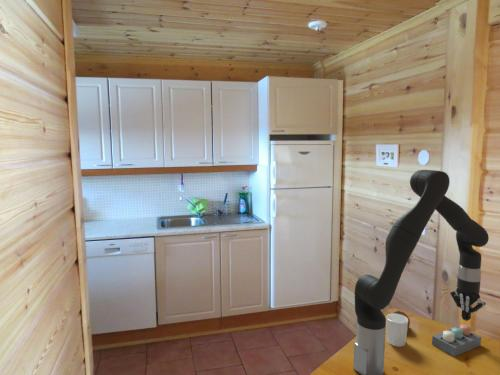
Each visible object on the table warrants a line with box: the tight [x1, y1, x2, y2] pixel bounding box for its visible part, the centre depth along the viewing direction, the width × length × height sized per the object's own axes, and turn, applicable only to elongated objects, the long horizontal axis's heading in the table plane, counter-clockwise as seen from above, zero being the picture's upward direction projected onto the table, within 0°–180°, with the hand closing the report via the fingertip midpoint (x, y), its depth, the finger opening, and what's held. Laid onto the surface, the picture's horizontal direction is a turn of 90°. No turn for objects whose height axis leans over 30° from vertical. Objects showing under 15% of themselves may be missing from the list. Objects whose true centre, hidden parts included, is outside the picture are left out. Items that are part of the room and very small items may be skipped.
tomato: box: [393, 310, 411, 328], centre depth 149 cm, size 8×8×7 cm
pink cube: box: [459, 323, 472, 337], centre depth 139 cm, size 4×4×4 cm
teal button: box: [451, 326, 463, 341], centre depth 136 cm, size 4×4×4 cm
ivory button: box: [442, 330, 455, 344], centre depth 134 cm, size 4×4×4 cm
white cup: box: [385, 312, 409, 347], centre depth 139 cm, size 8×8×10 cm
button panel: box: [431, 325, 482, 357], centre depth 137 cm, size 16×9×4 cm, turn 116°
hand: (465, 319), depth 138 cm, fingers closed
